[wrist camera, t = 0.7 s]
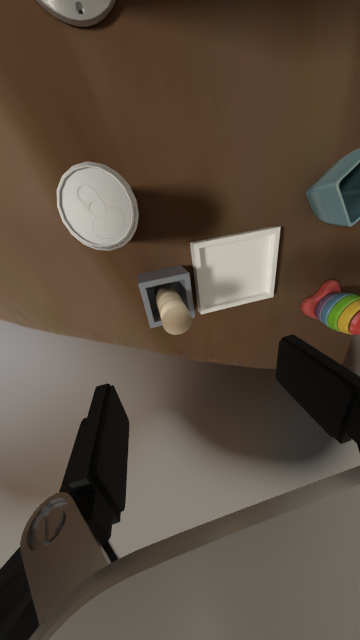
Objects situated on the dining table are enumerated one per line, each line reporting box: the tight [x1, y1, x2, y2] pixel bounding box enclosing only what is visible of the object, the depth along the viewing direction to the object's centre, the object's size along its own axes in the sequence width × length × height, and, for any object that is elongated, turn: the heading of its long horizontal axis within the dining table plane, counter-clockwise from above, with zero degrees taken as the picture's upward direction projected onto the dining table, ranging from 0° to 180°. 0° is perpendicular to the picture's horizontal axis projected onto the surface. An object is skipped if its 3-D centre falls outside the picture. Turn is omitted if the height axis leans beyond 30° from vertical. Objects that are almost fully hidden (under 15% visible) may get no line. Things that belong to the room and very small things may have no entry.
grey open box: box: [138, 266, 195, 328], centre depth 36 cm, size 9×9×7 cm
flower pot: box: [306, 148, 360, 227], centre depth 33 cm, size 9×9×9 cm
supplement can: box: [57, 162, 139, 251], centre depth 25 cm, size 8×8×15 cm
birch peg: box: [154, 283, 192, 335], centre depth 33 cm, size 4×4×14 cm
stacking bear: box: [301, 279, 360, 335], centre depth 43 cm, size 11×10×18 cm
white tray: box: [190, 227, 281, 314], centre depth 40 cm, size 15×18×2 cm
